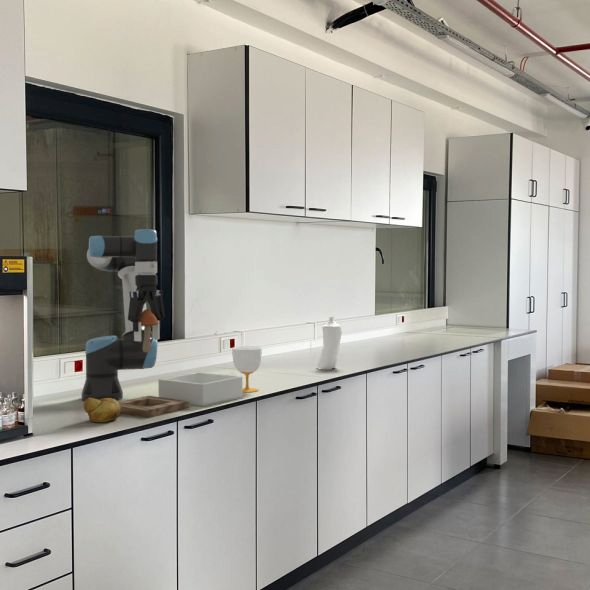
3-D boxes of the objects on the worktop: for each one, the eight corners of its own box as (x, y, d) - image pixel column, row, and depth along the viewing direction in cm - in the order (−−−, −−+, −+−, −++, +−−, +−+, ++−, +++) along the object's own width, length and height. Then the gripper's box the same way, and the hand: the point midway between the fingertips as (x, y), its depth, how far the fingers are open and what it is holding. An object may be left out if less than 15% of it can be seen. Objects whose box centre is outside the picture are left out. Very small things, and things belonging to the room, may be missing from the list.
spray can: (336, 366, 372) (336, 315, 371) (344, 369, 362) (344, 317, 361) (314, 367, 368) (313, 316, 367) (321, 370, 358) (321, 317, 357)
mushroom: (150, 350, 267) (150, 307, 266) (163, 352, 261) (163, 308, 261) (131, 352, 261) (130, 309, 261) (143, 354, 256) (143, 310, 255)
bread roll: (107, 415, 253) (106, 391, 253) (130, 417, 249) (130, 393, 249) (80, 422, 242) (80, 397, 242) (104, 425, 238) (104, 399, 237)
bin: (203, 406, 267) (203, 384, 266) (158, 400, 279) (158, 379, 279) (242, 397, 285) (242, 376, 284) (198, 392, 297) (198, 372, 297)
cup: (228, 389, 304) (228, 347, 304) (255, 387, 309) (255, 345, 308) (238, 393, 293) (237, 350, 293) (266, 391, 298) (265, 348, 297)
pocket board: (147, 417, 248) (147, 410, 248) (106, 411, 260) (106, 404, 259) (189, 408, 264) (189, 401, 264) (148, 402, 276) (148, 395, 276)
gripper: (131, 274, 249) (132, 343, 250) (175, 273, 267) (176, 338, 268) (115, 274, 254) (116, 342, 255) (160, 273, 271) (160, 336, 272)
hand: (147, 339), depth 261 cm, fingers closed on mushroom, 8 cm apart
